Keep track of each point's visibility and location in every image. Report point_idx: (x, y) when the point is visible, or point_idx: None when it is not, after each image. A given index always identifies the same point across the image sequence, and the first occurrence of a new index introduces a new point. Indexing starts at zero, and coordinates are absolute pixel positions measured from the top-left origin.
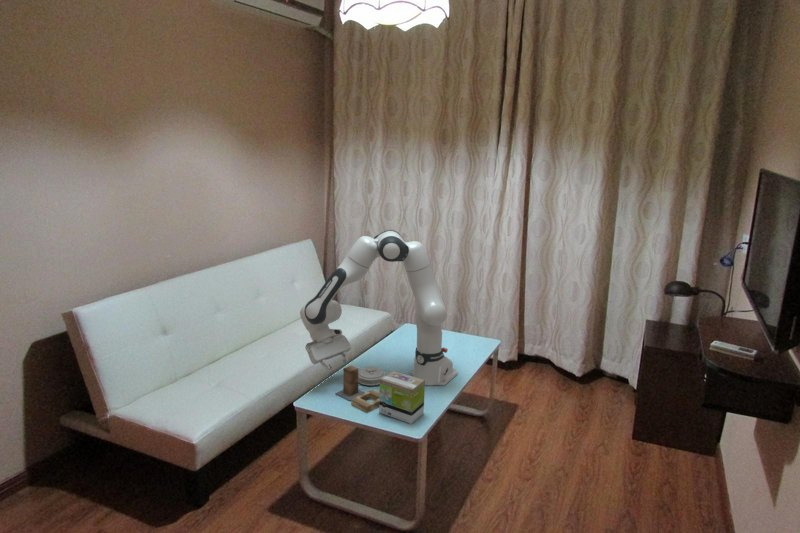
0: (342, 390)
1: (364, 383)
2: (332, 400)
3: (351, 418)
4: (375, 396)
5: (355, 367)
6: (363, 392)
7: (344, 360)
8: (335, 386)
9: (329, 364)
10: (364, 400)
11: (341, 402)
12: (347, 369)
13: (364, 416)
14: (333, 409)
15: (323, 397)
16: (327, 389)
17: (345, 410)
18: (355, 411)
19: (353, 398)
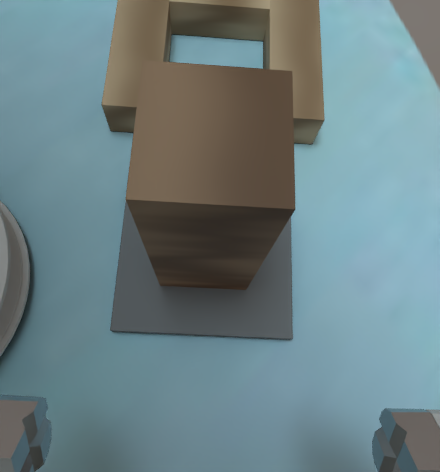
0: (223, 325)
1: (20, 258)
2: (368, 283)
3: (412, 50)
4: (166, 45)
5: (144, 103)
6: None
7: (28, 443)
8: (191, 454)
9: (432, 465)
10: (271, 49)
11: (338, 214)
12: (273, 141)
13: (344, 16)
14: (436, 189)
15: (393, 373)
16: (281, 465)
17: (384, 127)
18: (346, 79)
19: (305, 117)
